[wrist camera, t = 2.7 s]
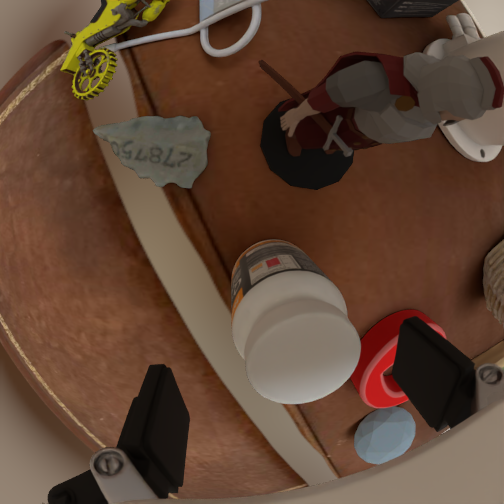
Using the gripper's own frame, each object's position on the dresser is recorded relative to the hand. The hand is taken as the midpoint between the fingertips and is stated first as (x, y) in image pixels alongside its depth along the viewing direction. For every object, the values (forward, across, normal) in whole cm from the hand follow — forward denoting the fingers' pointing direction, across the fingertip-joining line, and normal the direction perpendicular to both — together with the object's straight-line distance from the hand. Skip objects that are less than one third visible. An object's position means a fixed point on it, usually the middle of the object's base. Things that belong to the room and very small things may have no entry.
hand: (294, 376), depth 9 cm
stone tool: (+9, +5, -13) cm, 17 cm away
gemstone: (+10, -12, +20) cm, 26 cm away
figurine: (+10, -4, -10) cm, 15 cm away
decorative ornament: (+10, -12, +10) cm, 18 cm away
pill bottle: (+10, -1, 0) cm, 10 cm away
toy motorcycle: (+6, +5, -19) cm, 20 cm away
